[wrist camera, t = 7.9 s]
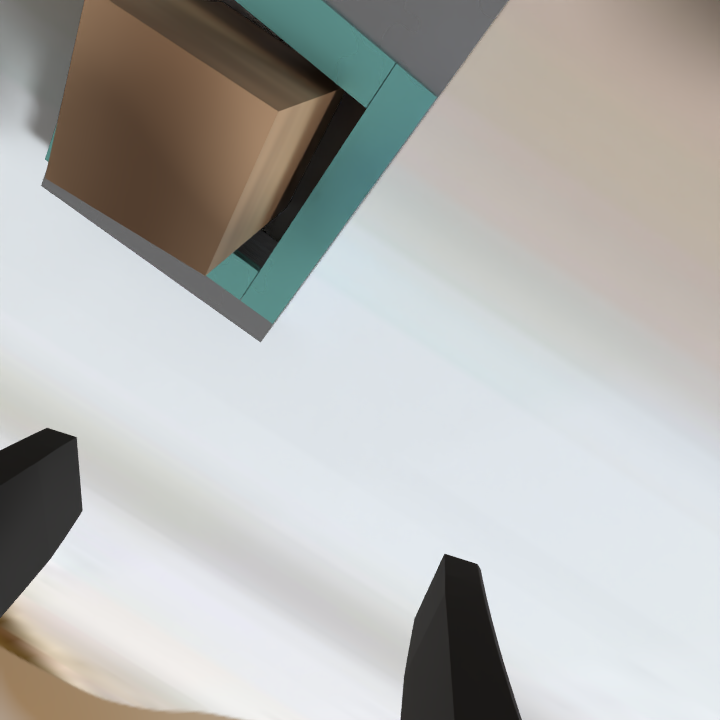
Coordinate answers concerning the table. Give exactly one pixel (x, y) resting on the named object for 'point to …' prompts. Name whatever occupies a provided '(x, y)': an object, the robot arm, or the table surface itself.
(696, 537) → the table surface
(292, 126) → the walnut block
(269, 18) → the grey slotted board
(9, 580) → the robot arm
